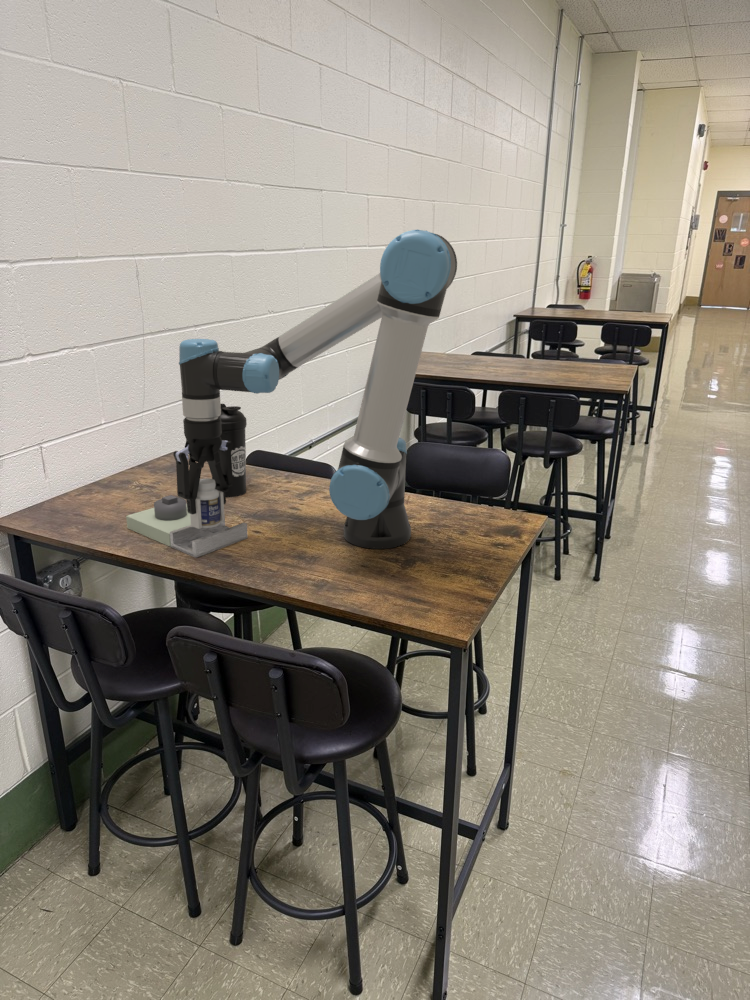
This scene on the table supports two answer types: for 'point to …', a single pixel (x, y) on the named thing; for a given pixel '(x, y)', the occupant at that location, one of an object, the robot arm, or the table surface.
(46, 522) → the table surface
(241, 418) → the water bottle
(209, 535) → the grey metal channel
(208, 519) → the pill bottle
